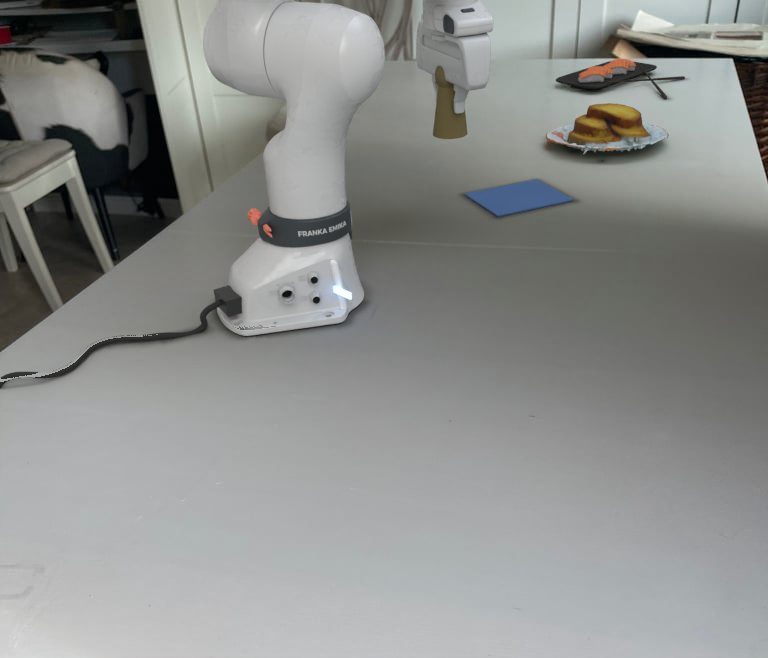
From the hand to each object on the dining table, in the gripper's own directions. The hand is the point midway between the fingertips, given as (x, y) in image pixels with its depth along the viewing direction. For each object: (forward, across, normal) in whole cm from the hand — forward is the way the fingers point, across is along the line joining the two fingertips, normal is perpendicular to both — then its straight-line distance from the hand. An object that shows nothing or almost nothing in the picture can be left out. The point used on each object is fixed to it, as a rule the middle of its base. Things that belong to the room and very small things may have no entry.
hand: (450, 108), depth 137 cm
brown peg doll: (+4, 0, 0) cm, 4 cm away
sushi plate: (+18, -58, +82) cm, 102 cm away
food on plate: (+18, -19, +47) cm, 53 cm away
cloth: (+18, 0, +15) cm, 23 cm away
